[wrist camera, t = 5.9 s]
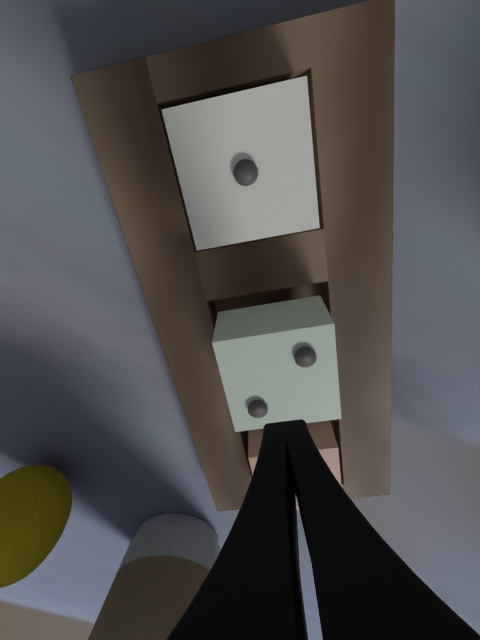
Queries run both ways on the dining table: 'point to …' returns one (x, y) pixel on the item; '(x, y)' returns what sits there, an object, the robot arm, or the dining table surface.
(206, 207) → the tile one pip
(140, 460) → the dining table surface
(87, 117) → the board
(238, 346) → the tile two pip
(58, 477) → the lemon
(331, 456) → the tile three pip
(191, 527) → the coffee cup
